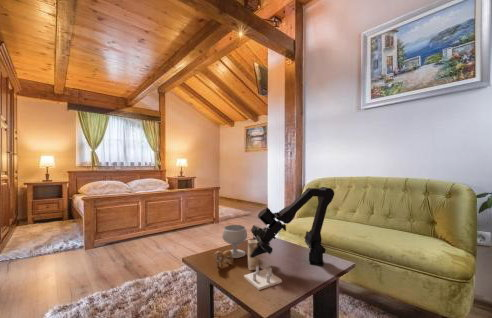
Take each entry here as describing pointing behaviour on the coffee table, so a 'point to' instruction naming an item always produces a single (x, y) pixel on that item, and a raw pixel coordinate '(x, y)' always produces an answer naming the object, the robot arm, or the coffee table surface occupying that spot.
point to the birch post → (251, 247)
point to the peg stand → (262, 278)
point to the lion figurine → (222, 257)
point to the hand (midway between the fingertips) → (250, 254)
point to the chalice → (235, 238)
